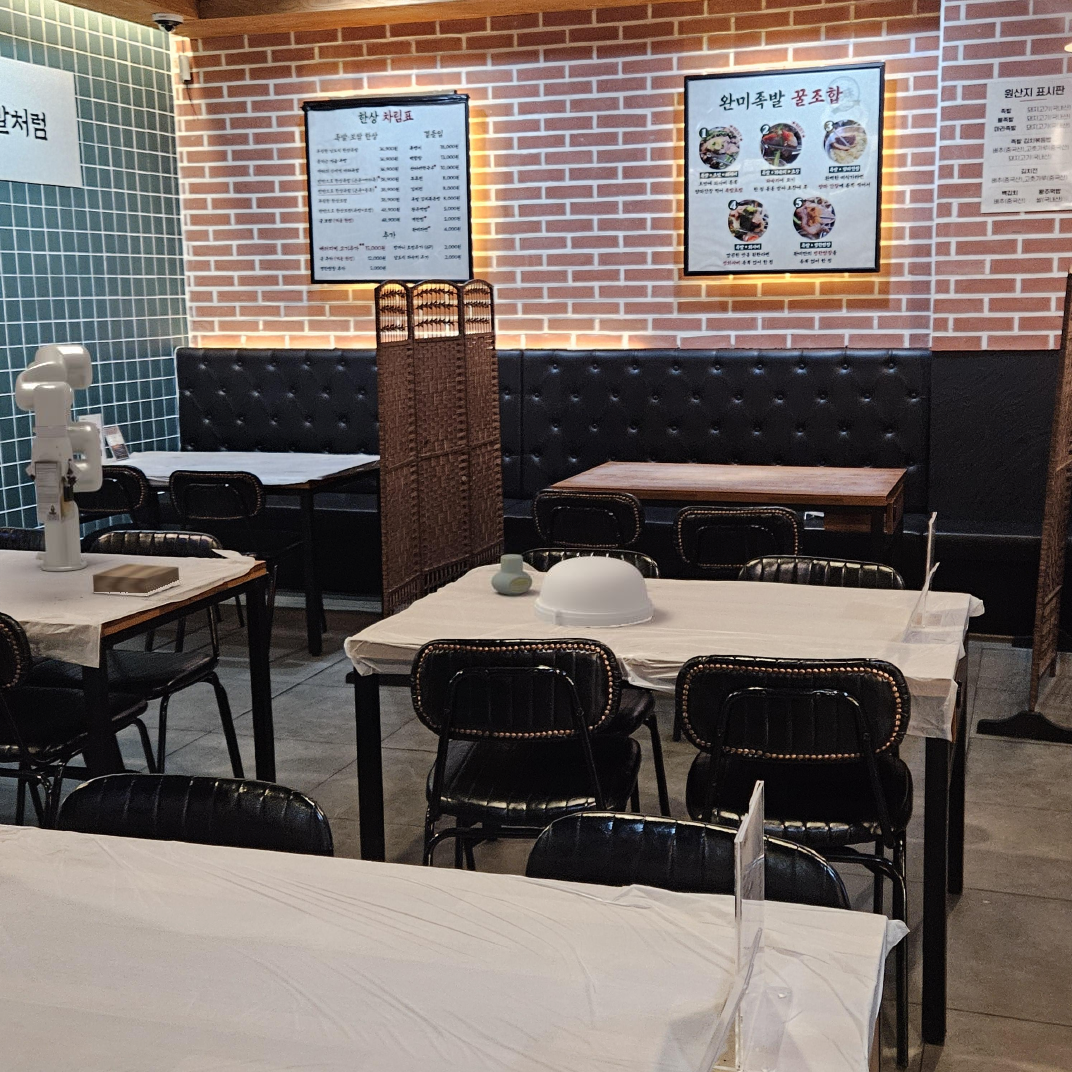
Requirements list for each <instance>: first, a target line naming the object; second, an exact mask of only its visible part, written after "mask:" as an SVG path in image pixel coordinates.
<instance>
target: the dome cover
mask: <svg viewBox="0 0 1072 1072" xmlns="http://www.w3.org/2000/svg"><path fill="white" fill-rule="evenodd" d="M540 586H541V587H540V592H539V596H538V597H537V598H536V599H535V602H534V604H533V616H534V617H535V618H536V617H537V618H536V619H537V620H539V619H540V621H541V620H542V621H541V622H544V621H545V622H544V623H547V622H551V623H554V624H553V626H554V625H570V626H611V625H621V624H629V623H634V622H638V621H643V620H645V619H648V618H649V617H651V616H652V615H653V614H654V615H655V613H654V612H655V611H654V604H653V601H652V599H650V597H649V595H648V589H647V584H646V581H645V579H644V576H643V574H642V573H641V571H640V570H638V568H637V567H635V566H634V565H633V564H631V563H629V562H627V561H625V560H622V559H618V558H613V557H607V556H580V557H579V556H578V557H572V558H568V559H565V560H562V561H559V562H557V563H556V564H554V565H552V567H550V569H549V570H548V571H547V572H546V574H545V576H543V580H542V583H541V585H540ZM551 623H550V624H551Z"/></svg>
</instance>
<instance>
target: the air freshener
mask: <svg viewBox="0 0 1072 1072" xmlns="http://www.w3.org/2000/svg"><path fill="white" fill-rule="evenodd" d="M523 561H524V557H523V556H522V554H515V553H514V554H513V553H512V554H511V553H510V554H504V555H501V557H500V571H497V572H495V574H494V575H493V576H492V578H491V582H490V583H491V586H492V588H493V589H494V591H497V592H498V593H499V594H502V595H509V596H519V595H523V594H524V593H526V592H528V591H529V589H531V588H532V585H533V579H532V577H531V575H530V574H529V573H528V572H526V571H524V564H523V563H524V562H523Z"/></svg>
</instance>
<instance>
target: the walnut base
mask: <svg viewBox="0 0 1072 1072" xmlns="http://www.w3.org/2000/svg"><path fill="white" fill-rule="evenodd" d="M179 569H180V568H179V566H166V565H148V564H133V563H126V564H123V565H120V566H119V565H118V566H117V567H114V568H111V569H107V570H104V571H101V572H98V573H95V574H92V584H93V585H92V586H93V593H94V592H109V593H110V592H120V593H121V592H125V593H126V592H128V593H148V592H150V591H153V590H156V589H158V588H160V587H163V586H165V585H168V584H170V583H172V582H175V581H177V580H179V581H180V573H179V572H180V570H179Z"/></svg>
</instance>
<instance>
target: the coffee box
mask: <svg viewBox="0 0 1072 1072" xmlns="http://www.w3.org/2000/svg"><path fill="white" fill-rule="evenodd" d="M34 464H35V480H36V485H35V492H36V507H37V522H38V523H39V524H44V523H63V522H66V521H68V520H70V519H72V518H74V517H75V513H74V502H75V500H74V499H75V498H74V497H75V496H74V497H73V501H70V502H64V491H63V487H65V484H64V482H63V477H61V476H60V462H58V461H43V460H42V461H41V460H40V461H35V462H34ZM71 476H72V475H71Z"/></svg>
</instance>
